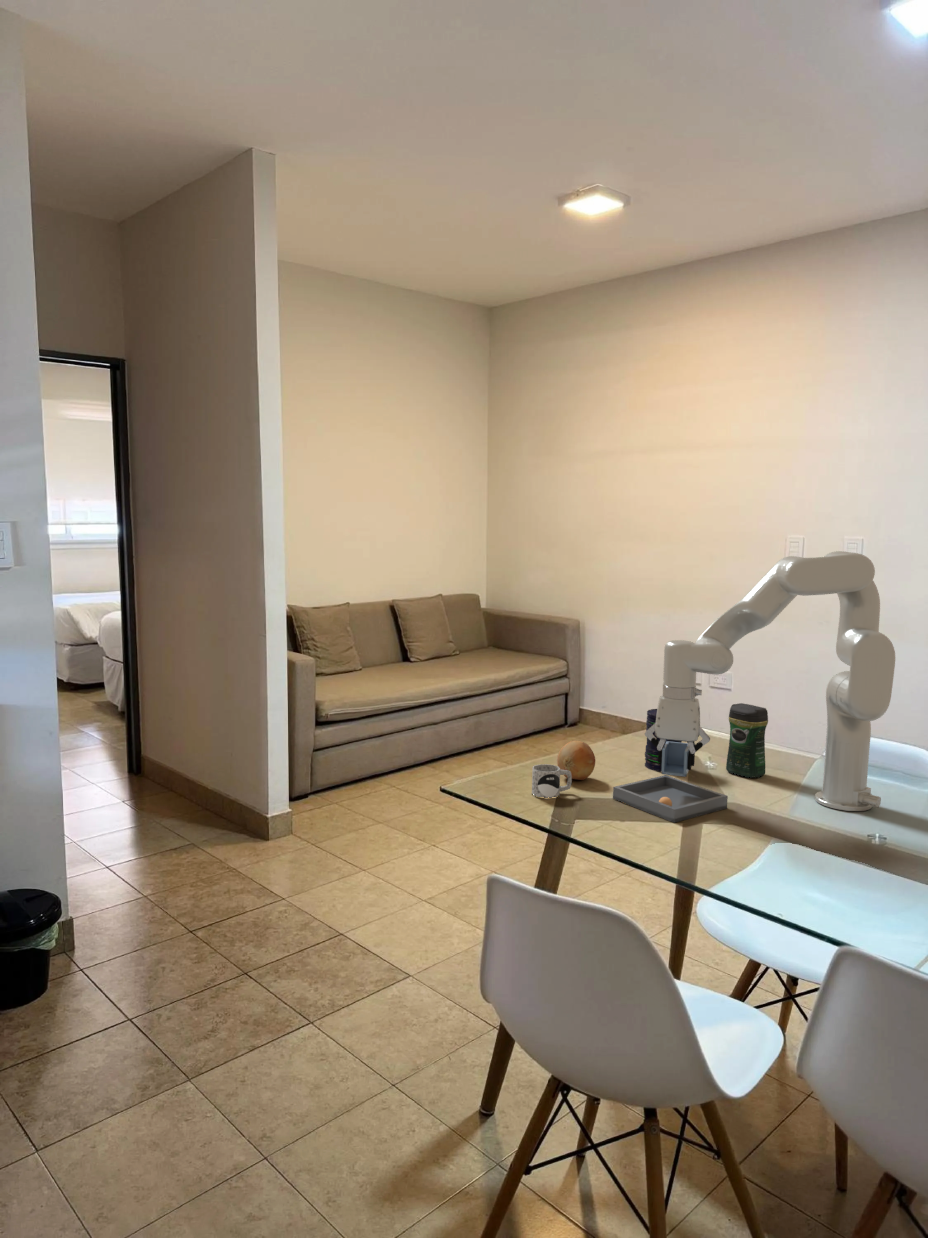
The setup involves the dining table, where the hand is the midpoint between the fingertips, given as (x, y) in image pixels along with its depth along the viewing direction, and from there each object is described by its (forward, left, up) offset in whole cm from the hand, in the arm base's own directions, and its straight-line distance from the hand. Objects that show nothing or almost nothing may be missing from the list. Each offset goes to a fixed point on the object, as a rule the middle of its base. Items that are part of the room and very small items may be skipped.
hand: (675, 766), depth 208 cm
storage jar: (+20, -18, -8) cm, 28 cm away
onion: (+24, +10, -8) cm, 27 cm away
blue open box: (0, 0, -1) cm, 1 cm away
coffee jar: (+4, -32, -8) cm, 33 cm away
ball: (-6, +10, -6) cm, 13 cm away
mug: (+18, +23, -8) cm, 30 cm away
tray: (-2, +4, -8) cm, 9 cm away
